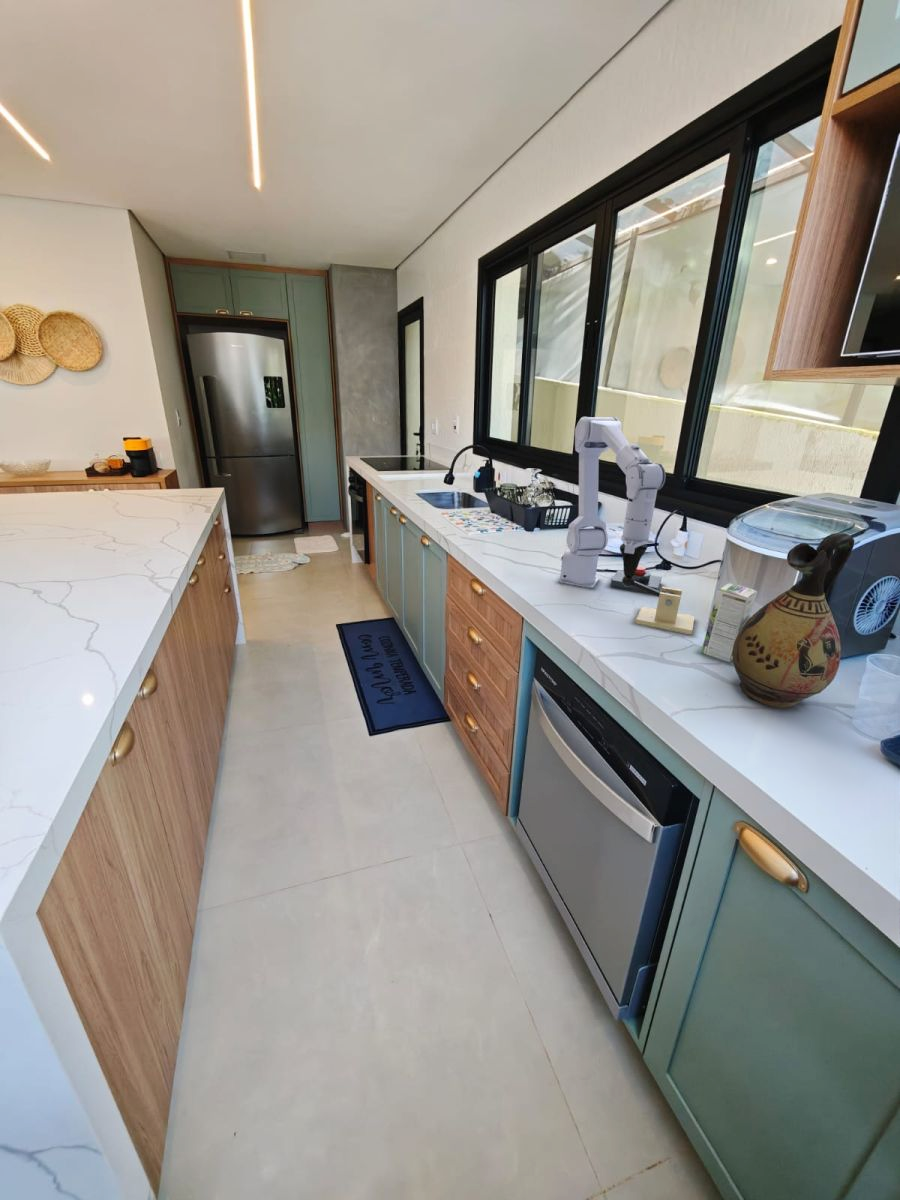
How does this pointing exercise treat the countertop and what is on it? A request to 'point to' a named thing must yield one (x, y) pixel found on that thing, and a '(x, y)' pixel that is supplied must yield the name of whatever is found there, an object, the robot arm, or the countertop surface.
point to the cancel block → (643, 579)
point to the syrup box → (728, 620)
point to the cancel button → (640, 570)
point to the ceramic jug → (794, 631)
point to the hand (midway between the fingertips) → (629, 575)
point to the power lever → (640, 586)
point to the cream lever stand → (667, 613)
